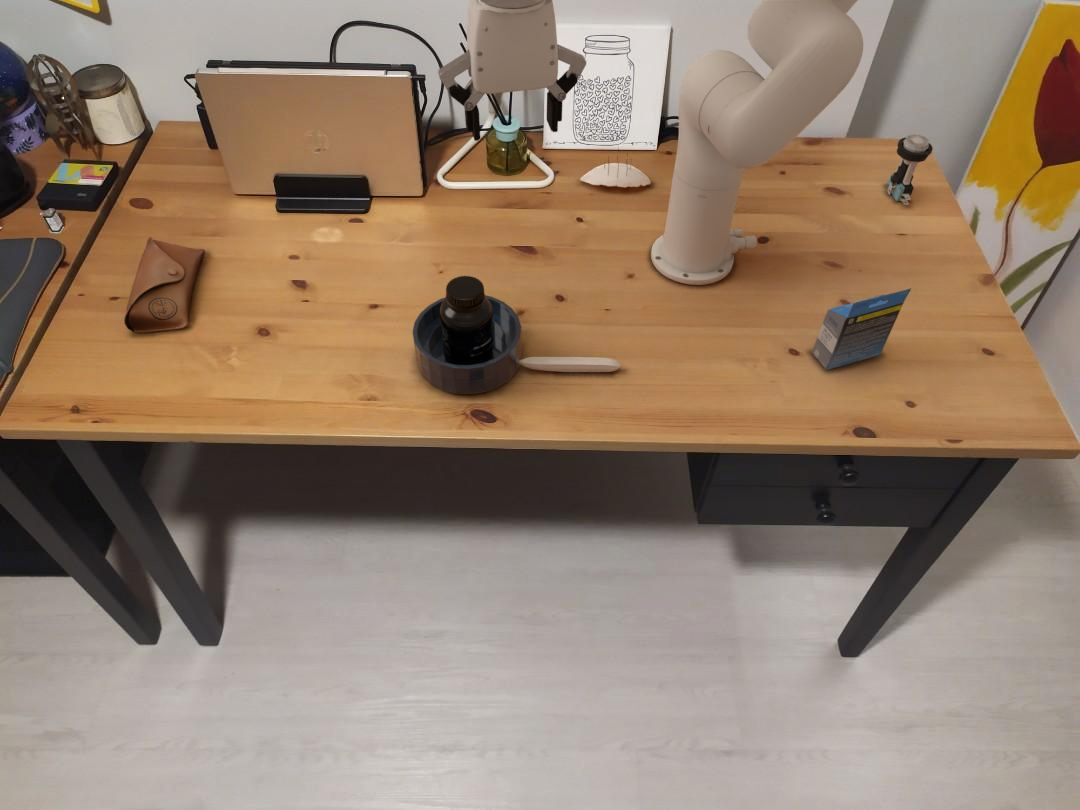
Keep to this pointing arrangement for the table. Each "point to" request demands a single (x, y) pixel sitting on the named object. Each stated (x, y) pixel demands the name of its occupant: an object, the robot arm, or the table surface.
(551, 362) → the pen
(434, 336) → the bowl
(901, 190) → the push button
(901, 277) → the table surface
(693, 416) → the table surface
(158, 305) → the sunglasses case
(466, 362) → the supplement bottle
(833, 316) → the blue cardboard box
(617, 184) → the pincushion
